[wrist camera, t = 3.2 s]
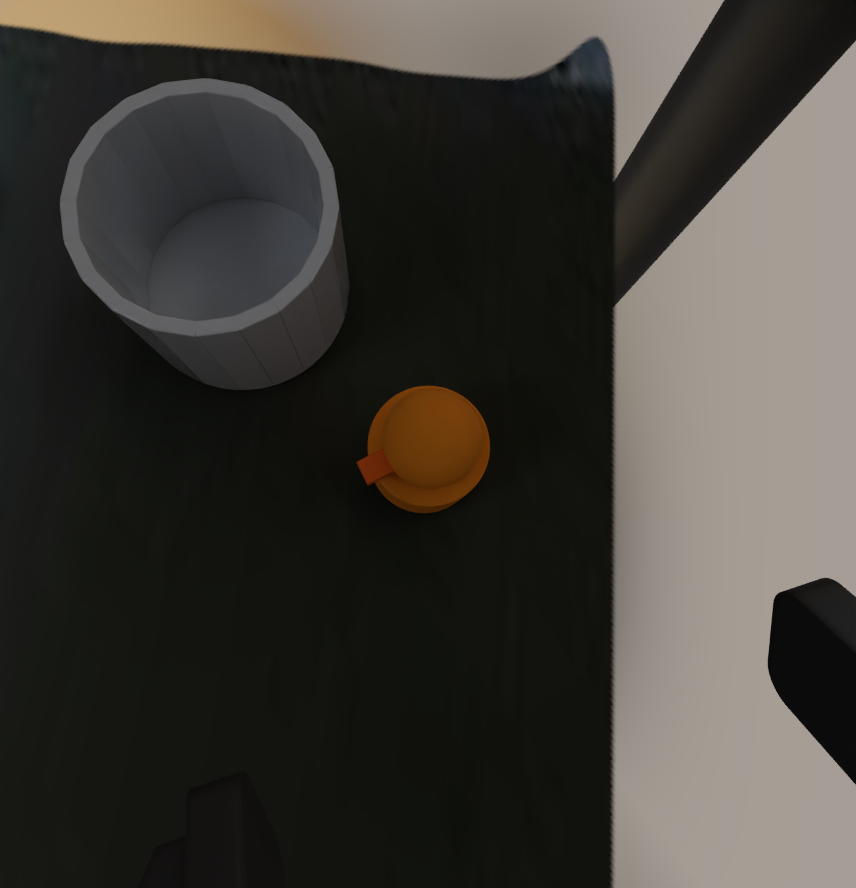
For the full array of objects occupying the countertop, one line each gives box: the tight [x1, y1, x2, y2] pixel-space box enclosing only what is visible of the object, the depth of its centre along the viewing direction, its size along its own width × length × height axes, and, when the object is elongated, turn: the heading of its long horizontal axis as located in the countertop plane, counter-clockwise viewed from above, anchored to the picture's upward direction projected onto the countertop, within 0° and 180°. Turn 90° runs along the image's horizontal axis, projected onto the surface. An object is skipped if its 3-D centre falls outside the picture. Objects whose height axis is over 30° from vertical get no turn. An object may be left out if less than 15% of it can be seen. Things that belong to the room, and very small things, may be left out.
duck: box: [357, 386, 490, 513], centre depth 32 cm, size 6×5×8 cm
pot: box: [60, 78, 349, 390], centre depth 32 cm, size 10×10×9 cm
